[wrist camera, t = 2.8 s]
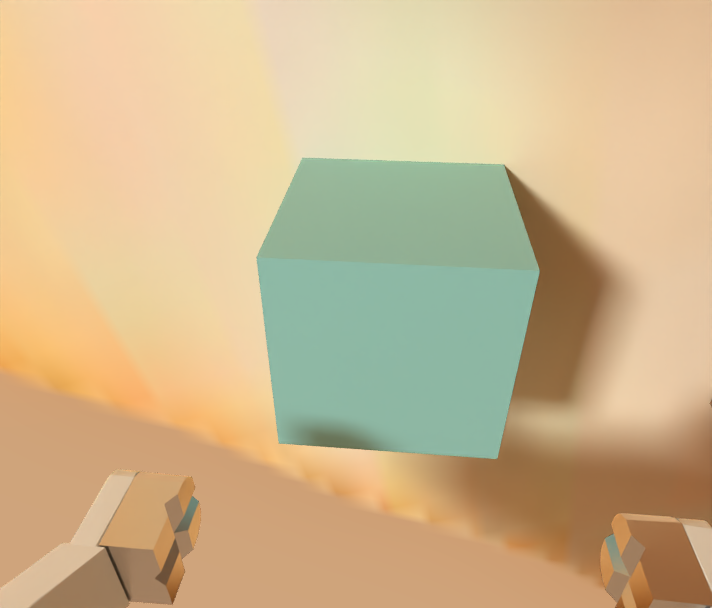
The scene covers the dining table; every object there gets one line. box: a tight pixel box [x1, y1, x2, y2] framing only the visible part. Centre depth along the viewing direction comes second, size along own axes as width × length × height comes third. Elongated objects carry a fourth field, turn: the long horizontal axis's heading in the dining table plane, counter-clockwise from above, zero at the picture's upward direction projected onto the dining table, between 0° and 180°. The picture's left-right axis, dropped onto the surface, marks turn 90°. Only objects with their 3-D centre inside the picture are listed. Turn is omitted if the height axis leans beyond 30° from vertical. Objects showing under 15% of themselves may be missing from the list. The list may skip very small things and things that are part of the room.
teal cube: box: [257, 158, 540, 459], centre depth 16 cm, size 6×6×6 cm
